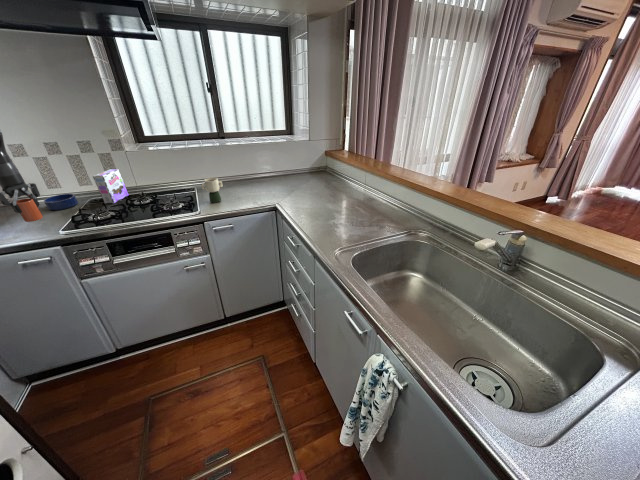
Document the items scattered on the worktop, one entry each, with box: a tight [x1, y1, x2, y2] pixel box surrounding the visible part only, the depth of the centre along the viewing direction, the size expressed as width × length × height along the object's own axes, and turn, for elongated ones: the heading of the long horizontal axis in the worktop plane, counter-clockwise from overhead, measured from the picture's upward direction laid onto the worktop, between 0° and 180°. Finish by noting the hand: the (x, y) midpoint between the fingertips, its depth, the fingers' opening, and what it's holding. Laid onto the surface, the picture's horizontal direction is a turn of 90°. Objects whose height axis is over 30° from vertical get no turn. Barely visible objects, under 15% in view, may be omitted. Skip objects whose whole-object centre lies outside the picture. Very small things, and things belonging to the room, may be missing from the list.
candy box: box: [92, 168, 130, 204], centre depth 155 cm, size 14×6×16 cm, turn 179°
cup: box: [16, 197, 44, 223], centre depth 121 cm, size 6×6×9 cm
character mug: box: [201, 177, 223, 203], centre depth 151 cm, size 11×7×13 cm, turn 116°
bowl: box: [43, 193, 79, 211], centre depth 150 cm, size 13×13×5 cm
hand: (28, 209), depth 121 cm, fingers closed on cup, 6 cm apart
